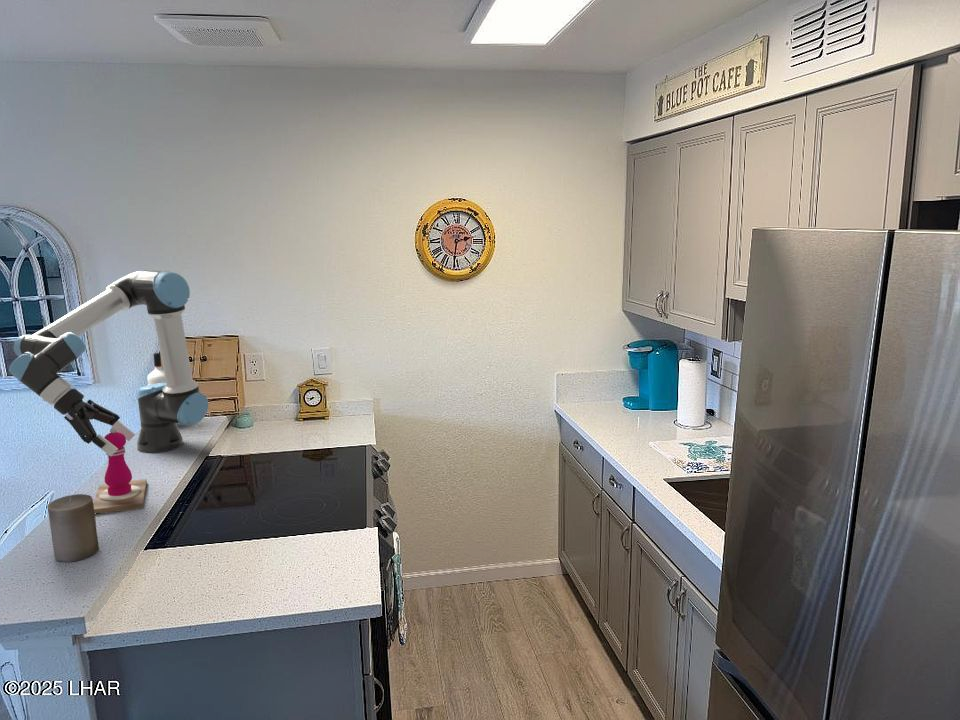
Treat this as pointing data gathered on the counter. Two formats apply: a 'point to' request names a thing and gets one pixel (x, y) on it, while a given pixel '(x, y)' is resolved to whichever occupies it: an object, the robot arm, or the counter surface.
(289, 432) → the counter surface
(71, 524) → the pillar candle
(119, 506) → the tan wooden flat board
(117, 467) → the pepper mill
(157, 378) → the vodka
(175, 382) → the robot arm
